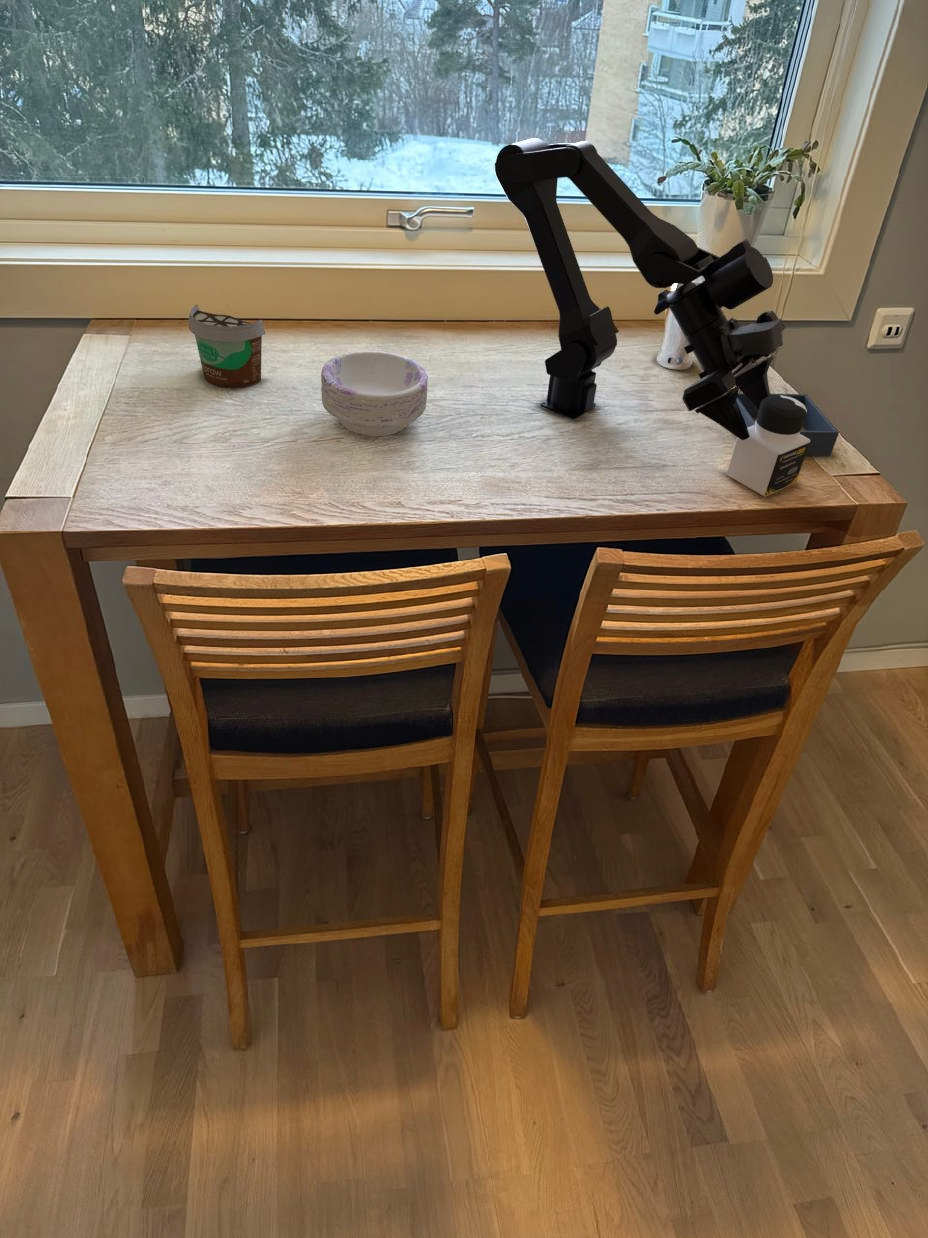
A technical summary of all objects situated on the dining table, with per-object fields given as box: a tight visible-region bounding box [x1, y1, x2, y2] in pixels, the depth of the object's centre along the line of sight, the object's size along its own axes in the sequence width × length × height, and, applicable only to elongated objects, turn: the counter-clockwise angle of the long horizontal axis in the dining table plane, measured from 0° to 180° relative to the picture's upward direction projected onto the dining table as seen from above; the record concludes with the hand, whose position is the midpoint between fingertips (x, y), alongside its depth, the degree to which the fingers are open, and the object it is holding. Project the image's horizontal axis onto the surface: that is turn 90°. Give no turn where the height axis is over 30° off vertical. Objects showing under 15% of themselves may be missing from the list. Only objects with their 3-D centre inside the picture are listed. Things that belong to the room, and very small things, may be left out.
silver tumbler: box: [656, 276, 705, 371], centre depth 152 cm, size 7×7×15 cm
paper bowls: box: [320, 350, 429, 437], centre depth 130 cm, size 15×15×8 cm
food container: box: [187, 303, 267, 389], centre depth 136 cm, size 12×6×10 cm, turn 68°
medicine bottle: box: [726, 395, 810, 498], centre depth 124 cm, size 7×7×12 cm
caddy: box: [737, 392, 840, 457], centre depth 137 cm, size 12×12×4 cm
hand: (758, 426), depth 124 cm, fingers open, 9 cm apart
